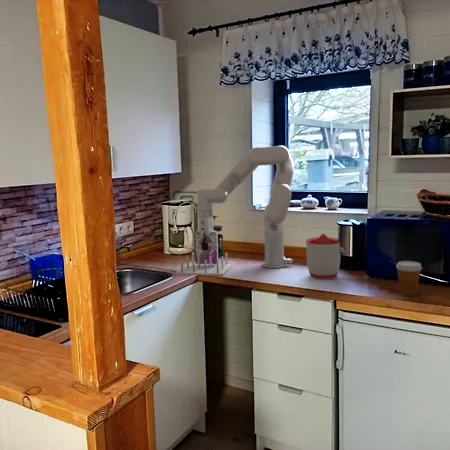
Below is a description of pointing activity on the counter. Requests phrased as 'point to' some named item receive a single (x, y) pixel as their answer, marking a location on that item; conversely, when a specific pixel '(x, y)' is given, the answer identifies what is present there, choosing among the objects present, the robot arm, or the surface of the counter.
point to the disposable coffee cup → (408, 277)
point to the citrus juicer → (323, 257)
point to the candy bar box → (211, 250)
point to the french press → (220, 236)
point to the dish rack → (204, 267)
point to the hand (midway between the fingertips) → (206, 248)
